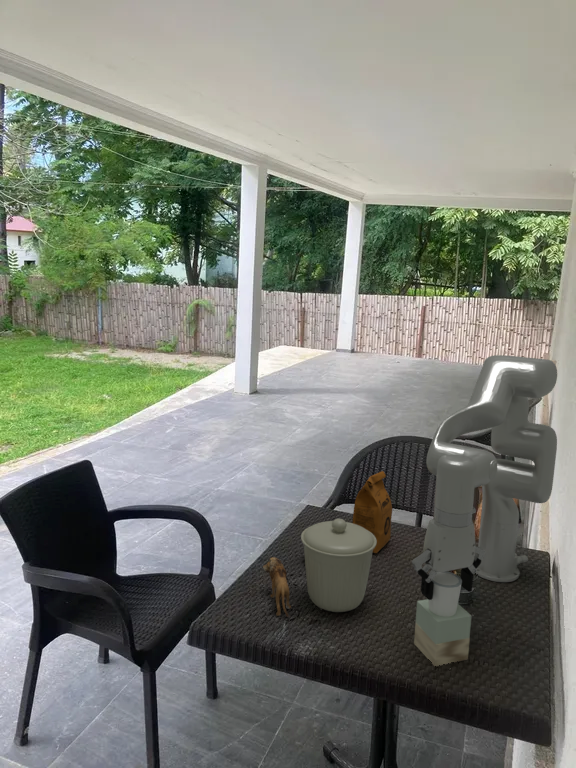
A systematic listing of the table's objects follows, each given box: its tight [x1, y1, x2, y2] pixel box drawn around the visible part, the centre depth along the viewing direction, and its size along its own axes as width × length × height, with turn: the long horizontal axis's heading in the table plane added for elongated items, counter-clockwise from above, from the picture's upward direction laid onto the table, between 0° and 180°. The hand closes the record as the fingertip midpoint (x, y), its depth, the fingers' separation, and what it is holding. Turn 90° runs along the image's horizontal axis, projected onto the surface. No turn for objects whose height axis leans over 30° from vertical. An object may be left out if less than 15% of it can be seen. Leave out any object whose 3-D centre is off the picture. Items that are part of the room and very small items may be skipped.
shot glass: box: [429, 571, 462, 617], centre depth 120 cm, size 7×7×7 cm
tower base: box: [413, 622, 471, 667], centre depth 122 cm, size 8×8×5 cm
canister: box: [300, 518, 377, 613], centre depth 139 cm, size 18×18×21 cm
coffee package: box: [352, 470, 393, 554], centre depth 169 cm, size 10×12×22 cm
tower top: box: [415, 598, 472, 644], centre depth 122 cm, size 8×8×5 cm
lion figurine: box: [262, 556, 292, 618], centre depth 139 cm, size 15×5×9 cm, turn 19°
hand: (446, 592), depth 120 cm, fingers open, 9 cm apart
